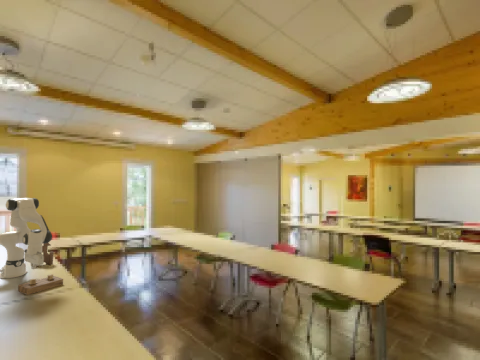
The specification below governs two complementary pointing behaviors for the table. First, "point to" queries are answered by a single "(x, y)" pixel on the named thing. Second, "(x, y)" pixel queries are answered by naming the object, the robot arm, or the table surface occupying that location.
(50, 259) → the wooden toy
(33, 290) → the board
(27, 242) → the robot arm
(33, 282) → the leg
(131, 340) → the table surface
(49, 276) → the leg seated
